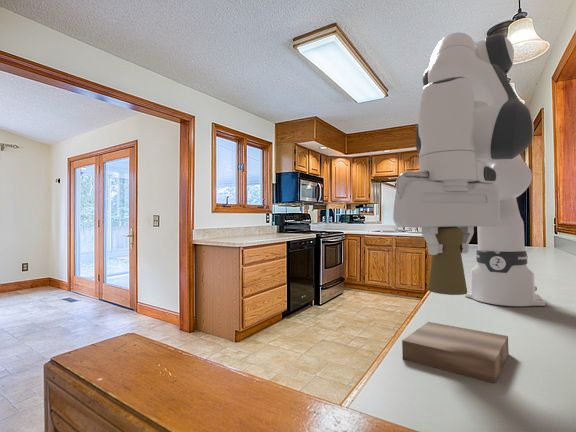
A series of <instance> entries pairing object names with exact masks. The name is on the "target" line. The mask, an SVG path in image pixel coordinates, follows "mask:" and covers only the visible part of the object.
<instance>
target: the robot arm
mask: <svg viewBox="0 0 576 432" xmlns="http://www.w3.org/2000/svg"><path fill="white" fill-rule="evenodd" d="M514 57H515V51H514V46H513V44H512V42H511V41H510V39H508V38H507V37H506V35H505V34H502V33H500V32H499V33H496V34H491V35H488V36H485V38H483V39H481V40H478V41H476V42H475V41H474V39H473V38H472V36H470V35H469V34H467V33H464V32H453V33H450V34H448V35H446V36H444V37H443V38H442V39H441V40H440V41H438V44H437V45H436V47H435V48H434V50H433V52H432V54H431V57H430V60H429V64H428V67H427V69H425V70H424V73H423V75H422V87H423V88H422V90H421V95H420V101H419V108H418V109H419V111H418V123H417V125H416V126H415V148H416V151H417V153H418V170H417V171H412V170H404V171H403V172H402V173H401V174H400V175H399V176H398V177H397V178H396V181H395V195H394V203H393V212H392V213H393V214H392V217H393V219H392V220H393V222H394V224H395V226H396V227H397V228H421V235H422V237H423V239H424V240H425V242H426V244H427V253H428V254H429V255H431V256H432V255H441V254H442V253H443V250H442V249H443V244H439V243H438V241H437V238H436V236H435V234H437V233H438V227H456V228H459V229H461V231H462V232H463V243H462V244H461V245H460V250H461V255H462V254H469V243H470V241H471V240H472V238H473V235H474V233H475V230H474V228H475V227H477V228H476V229H477V230H476V231H477V250H476V254H475V257H476V262H477V264H476V265H475V266H474V267H473V268H472V269H471V270H470V273H471V274H470V278H471V279H470V291H467V294H464V296H465V297H467V298H470V299H473V300H474V301H478V302H480V303H481V302H482V303H485V304H486V303H487V304H491V305H497V306H507V307H532V306H534V307H535V306H538V307H540V306H542V307H543V306H546V301H545V300H544V299H543V298H542V297H541V296H540V295H539V293H538V292H537V290H538V288H537V286H536V285H535V273H534V272H533V271H532V270H531V269H529V267H528V265H527V264H528V259H529V258H528V253H527V250H525V248H526V247H525V246H526V245H525V224H524V223H525V222H524V220H523V218H522V216H521V213H520V209H519V204H518V201H517V198H519V196H521V195H522V194H524V192H526V191H527V189H528V188H529V187H530V184H531V183H532V178H533V175H532V174H533V173H532V171H531V168H530V167H529V165H528V164H526V162H525V161H524V160H523V157H522V155H521V154H522V153H523V152H524V151H525V150H527V149H528V148H529V147H530V146H531V144H532V141H533V136H534V129H535V125H534V119H533V117H532V114H531V111H530V109H529V108H528V107H527V105H525V104H524V103H523V102H522V101H521V100H520V99H519V97H518V95H517V94H516V92H515V90H514V89H513V87H512V85H511V83H510V81H509V80H508V77H507V76H506V75H507V74H508V73H509V72H510V70H511V68H512V67H513V61H514Z"/></svg>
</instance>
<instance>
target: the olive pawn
mask: <svg viewBox="0 0 576 432" xmlns="http://www.w3.org/2000/svg"><path fill="white" fill-rule="evenodd" d="M435 236H436V238H437V241H438V243H439V244H443V249H442V250H443V253H442V254H441V255H431V263H430V264H431V265H430V273H429V280H428V289H427V291H429V292H431V293H434V294H439V295H449V296H462V295H463V296H465V294H467V292H468V289H467V288H468V287H467V281H466V275H465V269H464V264H463V258H462V254H461V250H460V245H461V244H462V243H463V232H462V231H461V229H459V228H458V227H438V233H437V234H435Z"/></svg>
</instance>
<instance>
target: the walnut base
mask: <svg viewBox="0 0 576 432" xmlns="http://www.w3.org/2000/svg"><path fill="white" fill-rule="evenodd" d="M401 345H402V346H401V349H402V360H406V361H410V362H413V363H417V364H421V365H424V366H428V367H432V368H437V369H440V370H444V371H447V372H452V373H454V374H459V375H461V376H462V375H463V376H466V377H469V378H473V379H477V380H481V381H484V380H485V382H488V383H493V384H496V382H497V380H498V378H499V377H500V376H499V375H500V373H501V371H502V369H503V367H504V365H505V362H506V361H507V359H508V357H509V336H508V335H503V334H499V333H494V332H489V331H482V330H478V329H477V330H476V329H472V328H471V329H470V328H466V327H459V326H455V325H454V326H453V325H449V324H442V323H436V322H433V321H431V322H430V321H427V322H426V323H424V324H423V325H421V326H420V327H418V328H417V329H416V330H414V331H413V332H412V333H411V334H409V335H408V336H406V337H405V338H403V339H402V340H401Z"/></svg>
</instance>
